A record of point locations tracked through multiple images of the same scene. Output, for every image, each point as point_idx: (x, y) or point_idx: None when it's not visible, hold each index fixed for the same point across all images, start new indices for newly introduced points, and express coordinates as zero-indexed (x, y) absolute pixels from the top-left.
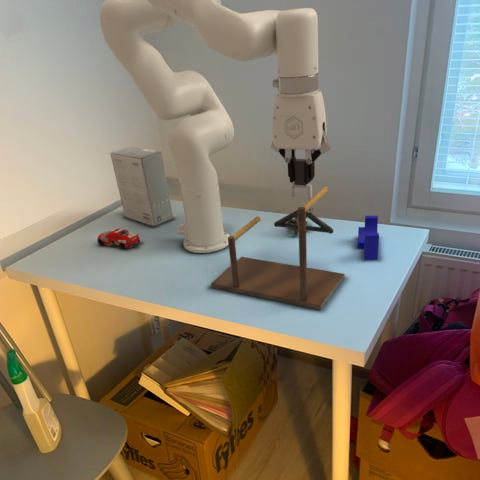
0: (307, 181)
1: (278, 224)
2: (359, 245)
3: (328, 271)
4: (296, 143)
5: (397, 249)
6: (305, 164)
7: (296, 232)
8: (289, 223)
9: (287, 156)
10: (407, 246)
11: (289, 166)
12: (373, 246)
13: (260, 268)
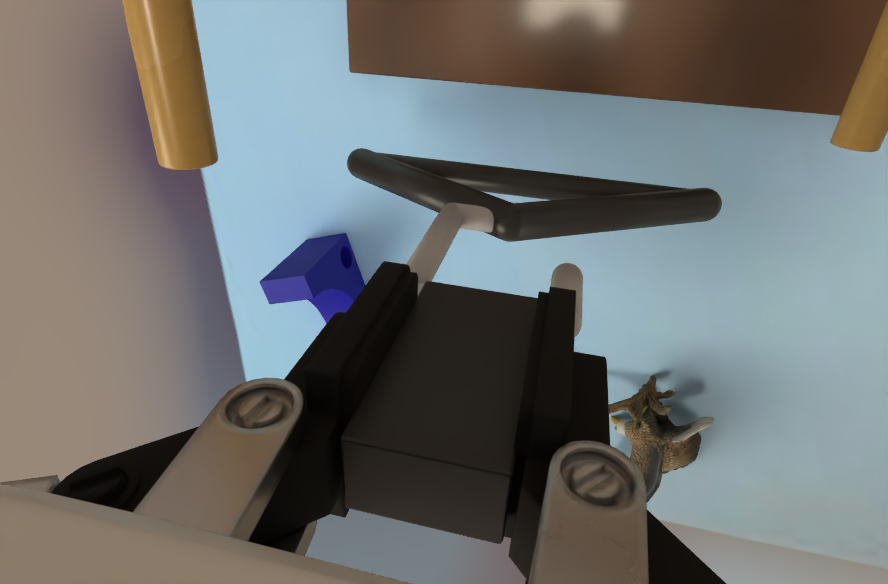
0: (379, 273)
1: (685, 188)
2: None
3: (414, 74)
4: None
5: (279, 317)
6: (322, 379)
7: (646, 386)
8: (685, 425)
9: (596, 527)
10: (262, 339)
11: (566, 396)
12: (296, 259)
13: (750, 9)
